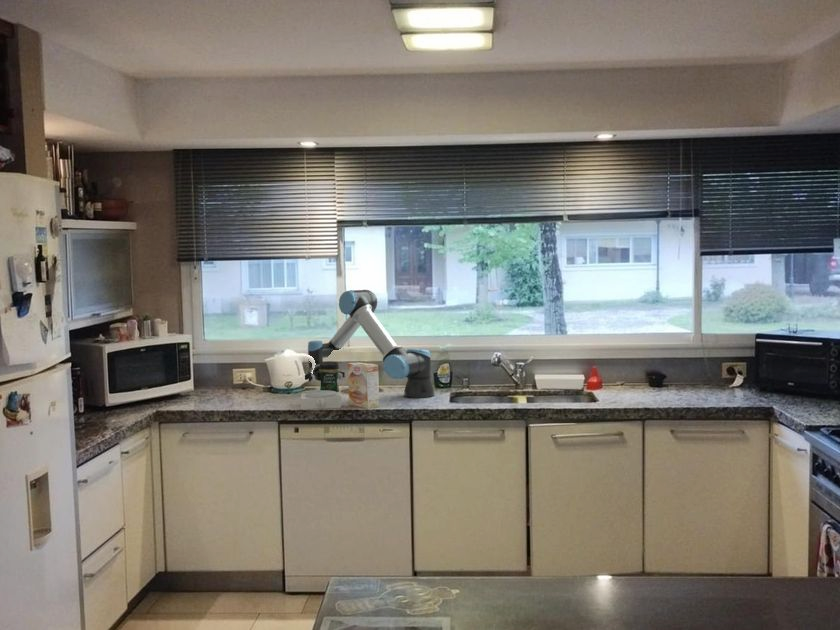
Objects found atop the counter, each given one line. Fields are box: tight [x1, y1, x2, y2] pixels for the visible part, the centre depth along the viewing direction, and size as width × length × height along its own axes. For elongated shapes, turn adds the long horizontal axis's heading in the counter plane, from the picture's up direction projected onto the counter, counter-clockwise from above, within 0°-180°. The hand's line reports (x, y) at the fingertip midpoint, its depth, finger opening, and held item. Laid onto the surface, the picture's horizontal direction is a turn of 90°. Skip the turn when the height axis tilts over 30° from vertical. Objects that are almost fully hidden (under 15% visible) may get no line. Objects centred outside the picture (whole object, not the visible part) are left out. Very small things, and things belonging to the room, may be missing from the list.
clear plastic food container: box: [300, 389, 342, 410], centre depth 355 cm, size 18×16×6 cm
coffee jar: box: [319, 360, 340, 392], centre depth 374 cm, size 10×8×19 cm
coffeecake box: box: [347, 361, 380, 409], centre depth 354 cm, size 15×7×20 cm, turn 40°
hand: (328, 377), depth 374 cm, fingers open, 13 cm apart
